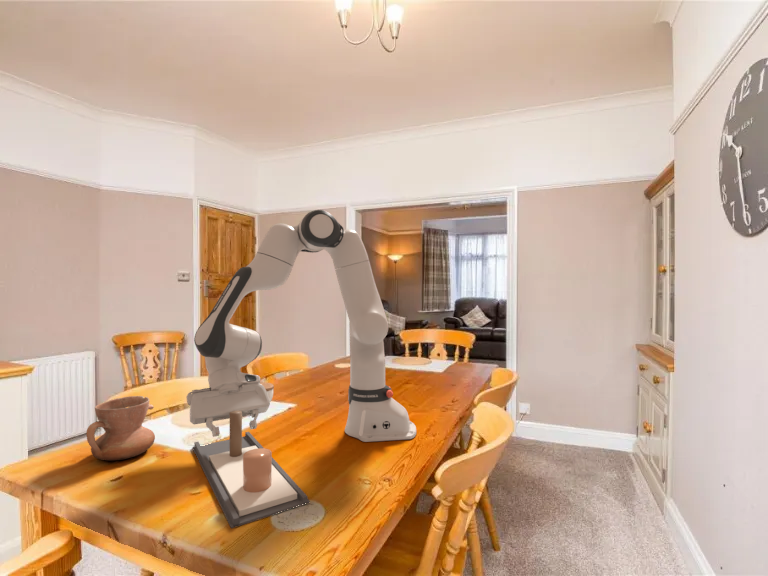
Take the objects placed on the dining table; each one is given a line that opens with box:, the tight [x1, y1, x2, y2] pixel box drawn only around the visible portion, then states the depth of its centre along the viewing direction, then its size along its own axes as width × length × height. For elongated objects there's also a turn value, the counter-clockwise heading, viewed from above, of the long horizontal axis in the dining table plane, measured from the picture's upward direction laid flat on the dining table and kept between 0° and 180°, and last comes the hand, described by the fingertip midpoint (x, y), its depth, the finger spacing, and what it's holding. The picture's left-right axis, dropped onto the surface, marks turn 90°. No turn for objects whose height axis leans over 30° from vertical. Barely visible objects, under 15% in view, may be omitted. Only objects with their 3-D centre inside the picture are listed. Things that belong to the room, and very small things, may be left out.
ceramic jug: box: [86, 395, 156, 461], centre depth 109 cm, size 18×14×14 cm
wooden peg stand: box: [209, 411, 297, 517], centre depth 95 cm, size 30×12×12 cm, turn 34°
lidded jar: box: [260, 381, 275, 403], centre depth 151 cm, size 11×11×9 cm
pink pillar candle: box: [243, 447, 273, 492], centre depth 90 cm, size 6×6×7 cm
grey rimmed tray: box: [192, 431, 310, 529], centre depth 100 cm, size 44×16×2 cm, turn 34°
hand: (235, 431), depth 105 cm, fingers open, 8 cm apart
